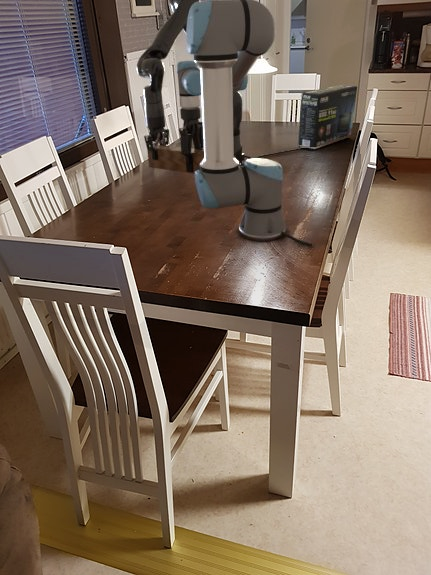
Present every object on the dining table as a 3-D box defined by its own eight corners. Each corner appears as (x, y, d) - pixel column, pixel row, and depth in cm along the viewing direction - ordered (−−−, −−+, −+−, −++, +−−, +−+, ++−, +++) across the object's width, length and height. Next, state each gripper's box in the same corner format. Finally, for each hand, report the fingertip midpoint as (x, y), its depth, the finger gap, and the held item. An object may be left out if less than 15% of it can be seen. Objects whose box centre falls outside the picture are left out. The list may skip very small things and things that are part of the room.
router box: (314, 151, 231) (318, 94, 217) (296, 148, 237) (299, 92, 224) (352, 138, 251) (358, 85, 238) (335, 135, 258) (340, 83, 245)
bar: (205, 170, 182) (204, 150, 178) (198, 174, 178) (197, 153, 174) (156, 163, 192) (154, 144, 188) (149, 167, 189) (146, 147, 185)
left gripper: (158, 110, 185) (162, 153, 194) (135, 117, 175) (141, 161, 184) (173, 111, 182) (176, 154, 191) (151, 118, 171) (156, 164, 180)
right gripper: (194, 102, 177) (198, 162, 189) (167, 111, 164) (173, 175, 176) (211, 103, 174) (213, 164, 186) (185, 112, 161) (189, 177, 173)
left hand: (159, 158), depth 187 cm, fingers closed on bar, 5 cm apart
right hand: (193, 169), depth 181 cm, fingers closed on bar, 5 cm apart
